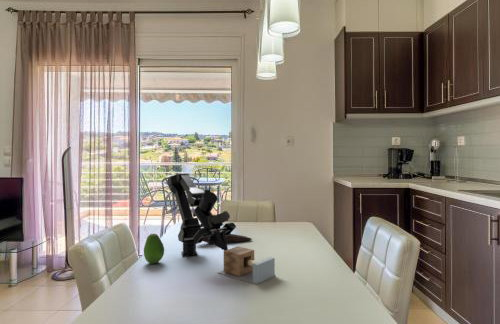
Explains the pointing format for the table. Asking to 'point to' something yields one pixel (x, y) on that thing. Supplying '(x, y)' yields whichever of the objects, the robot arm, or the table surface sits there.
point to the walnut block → (238, 261)
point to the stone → (231, 238)
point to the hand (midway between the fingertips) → (226, 250)
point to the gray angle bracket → (257, 271)
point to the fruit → (153, 249)
